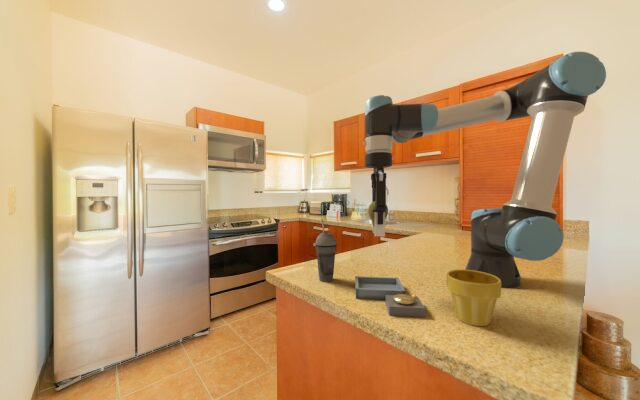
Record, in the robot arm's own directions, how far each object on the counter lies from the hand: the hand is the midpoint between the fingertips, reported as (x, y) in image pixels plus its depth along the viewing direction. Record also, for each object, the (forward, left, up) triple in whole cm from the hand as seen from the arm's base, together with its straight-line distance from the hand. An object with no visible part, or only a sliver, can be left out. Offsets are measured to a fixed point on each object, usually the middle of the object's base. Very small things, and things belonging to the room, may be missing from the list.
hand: (378, 234), depth 73 cm
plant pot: (-19, +14, -17) cm, 29 cm away
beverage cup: (+16, -9, -17) cm, 25 cm away
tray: (0, 0, -17) cm, 17 cm away
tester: (-5, +11, -17) cm, 20 cm away
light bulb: (0, 0, -1) cm, 1 cm away
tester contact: (-5, +11, -14) cm, 19 cm away
